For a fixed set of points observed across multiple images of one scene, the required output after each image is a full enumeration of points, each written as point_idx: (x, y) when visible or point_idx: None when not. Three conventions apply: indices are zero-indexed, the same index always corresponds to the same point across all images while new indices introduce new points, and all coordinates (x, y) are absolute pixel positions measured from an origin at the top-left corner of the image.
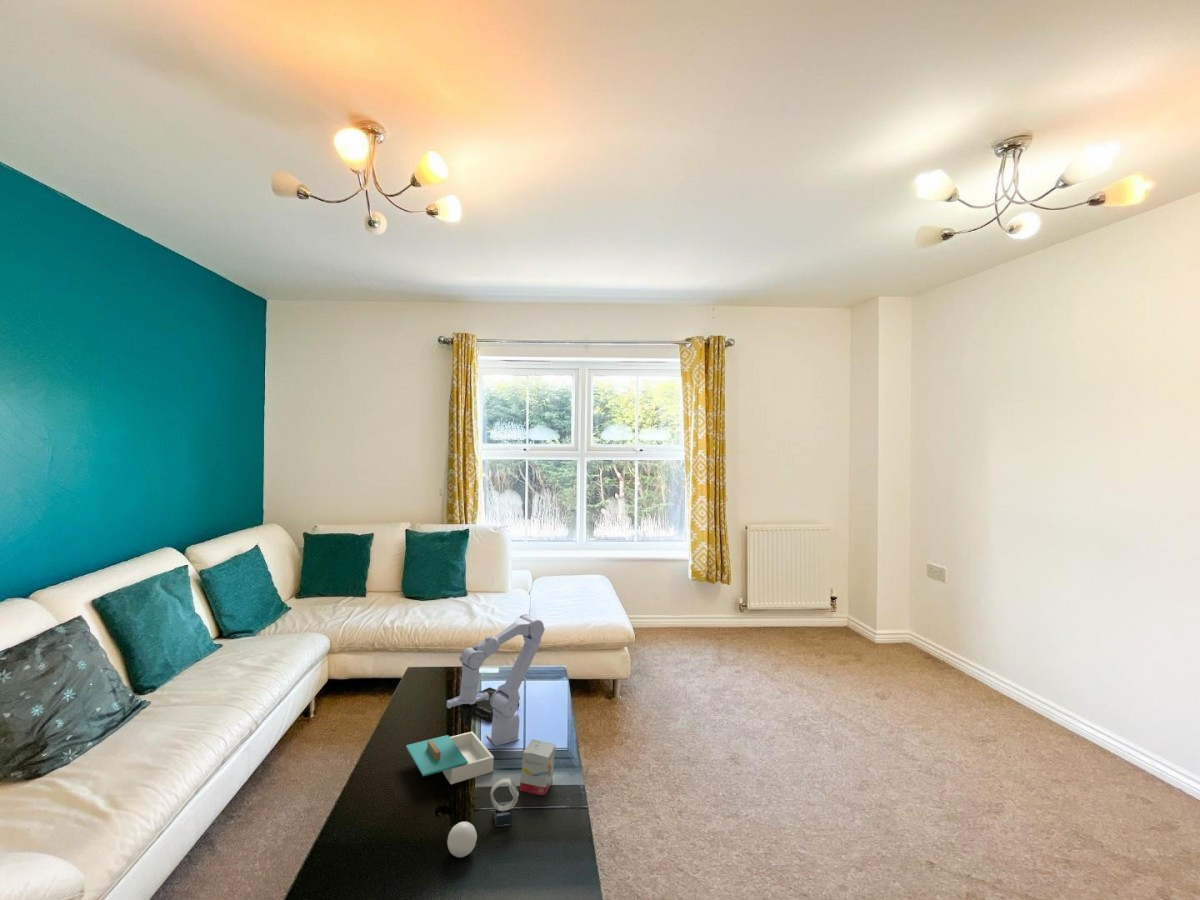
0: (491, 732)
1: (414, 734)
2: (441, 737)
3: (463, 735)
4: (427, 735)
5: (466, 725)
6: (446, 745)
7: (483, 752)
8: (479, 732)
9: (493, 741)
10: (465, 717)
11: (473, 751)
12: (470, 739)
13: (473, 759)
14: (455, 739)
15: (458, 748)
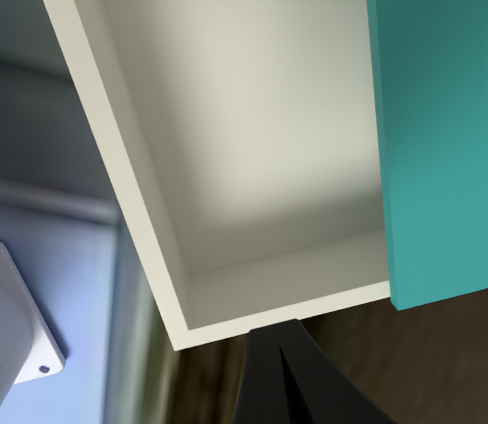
0: (17, 359)
1: (458, 421)
2: (459, 281)
3: (255, 309)
4: (403, 407)
5: (282, 322)
6: (465, 142)
7: (96, 31)
8: (112, 401)
9: (14, 285)
10: (366, 402)
11: (176, 190)
12: (190, 297)
13: (189, 78)
14: (317, 284)
15: (274, 249)
